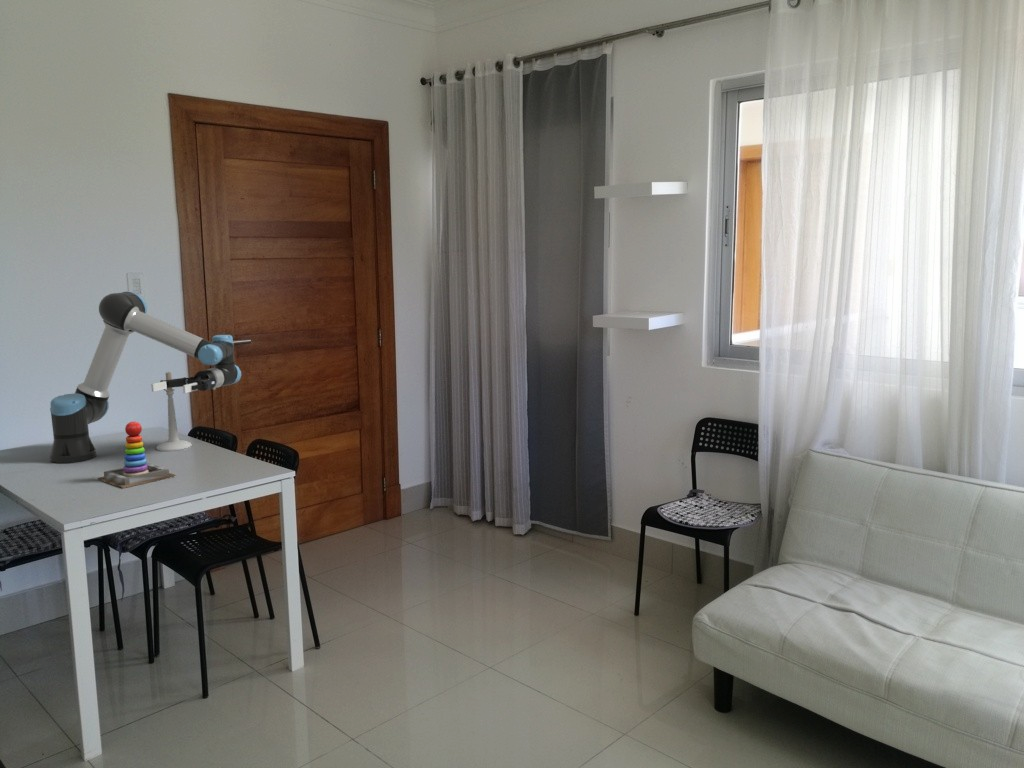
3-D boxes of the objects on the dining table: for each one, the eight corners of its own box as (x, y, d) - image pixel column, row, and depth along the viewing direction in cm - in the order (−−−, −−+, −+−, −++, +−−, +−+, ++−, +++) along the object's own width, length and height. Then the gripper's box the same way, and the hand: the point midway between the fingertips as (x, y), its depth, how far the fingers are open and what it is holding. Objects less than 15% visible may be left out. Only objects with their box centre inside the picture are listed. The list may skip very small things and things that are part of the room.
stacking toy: (139, 480, 277) (134, 424, 274) (118, 479, 278) (113, 424, 275) (154, 473, 284) (149, 419, 281) (133, 472, 286) (128, 419, 283)
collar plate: (97, 479, 280) (97, 472, 280) (149, 468, 294) (149, 461, 294) (122, 488, 269) (122, 480, 268) (175, 476, 282) (175, 469, 282)
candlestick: (149, 450, 321) (142, 373, 316) (169, 443, 333) (163, 368, 329) (179, 451, 318) (172, 374, 314) (198, 444, 331) (192, 369, 326)
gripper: (237, 390, 309) (198, 400, 289) (182, 388, 317) (140, 397, 297) (235, 370, 307) (196, 379, 288) (180, 368, 315) (138, 376, 296)
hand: (168, 388), depth 292 cm, fingers open, 13 cm apart
